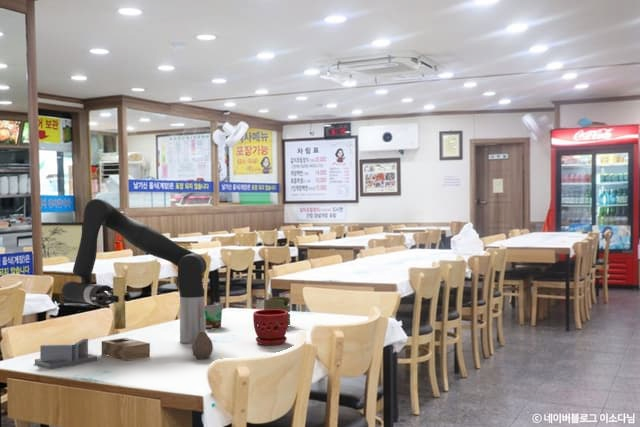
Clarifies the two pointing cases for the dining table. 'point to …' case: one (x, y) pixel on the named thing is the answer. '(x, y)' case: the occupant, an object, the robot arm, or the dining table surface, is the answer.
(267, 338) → the plant pot
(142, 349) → the brown wooden box
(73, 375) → the dining table surface
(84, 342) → the v block
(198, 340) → the vase
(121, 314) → the axle
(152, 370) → the dining table surface
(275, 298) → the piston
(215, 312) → the food container
